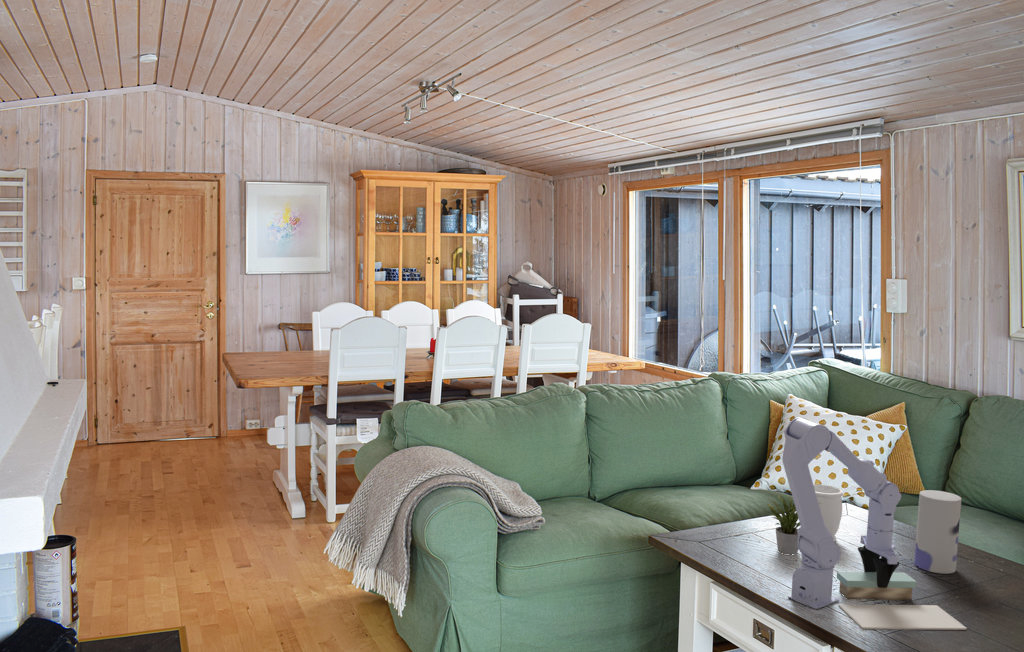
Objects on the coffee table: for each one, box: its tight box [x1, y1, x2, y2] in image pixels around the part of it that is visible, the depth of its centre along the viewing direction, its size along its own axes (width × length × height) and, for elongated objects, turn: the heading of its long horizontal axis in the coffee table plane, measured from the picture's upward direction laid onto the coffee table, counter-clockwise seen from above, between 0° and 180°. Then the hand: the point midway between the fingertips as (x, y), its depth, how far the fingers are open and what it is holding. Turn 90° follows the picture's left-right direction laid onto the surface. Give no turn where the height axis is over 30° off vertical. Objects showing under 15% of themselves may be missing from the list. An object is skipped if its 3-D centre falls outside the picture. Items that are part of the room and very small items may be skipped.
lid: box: [836, 571, 917, 589], centre depth 202 cm, size 17×6×2 cm, turn 93°
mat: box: [838, 603, 968, 631], centre depth 191 cm, size 24×12×1 cm, turn 93°
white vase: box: [813, 484, 844, 543], centre depth 243 cm, size 11×10×15 cm
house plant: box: [767, 494, 801, 556], centre depth 231 cm, size 14×14×16 cm
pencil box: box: [839, 581, 913, 601], centre depth 203 cm, size 16×4×4 cm, turn 93°
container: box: [914, 489, 962, 574], centre depth 222 cm, size 10×10×20 cm
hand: (876, 582), depth 202 cm, fingers closed on lid, 6 cm apart
